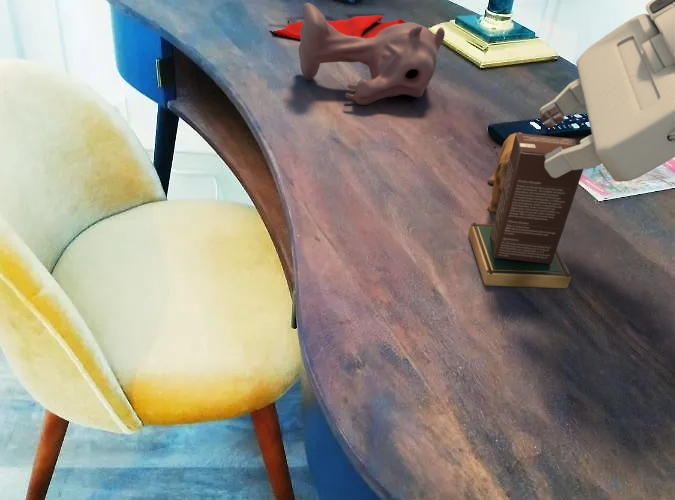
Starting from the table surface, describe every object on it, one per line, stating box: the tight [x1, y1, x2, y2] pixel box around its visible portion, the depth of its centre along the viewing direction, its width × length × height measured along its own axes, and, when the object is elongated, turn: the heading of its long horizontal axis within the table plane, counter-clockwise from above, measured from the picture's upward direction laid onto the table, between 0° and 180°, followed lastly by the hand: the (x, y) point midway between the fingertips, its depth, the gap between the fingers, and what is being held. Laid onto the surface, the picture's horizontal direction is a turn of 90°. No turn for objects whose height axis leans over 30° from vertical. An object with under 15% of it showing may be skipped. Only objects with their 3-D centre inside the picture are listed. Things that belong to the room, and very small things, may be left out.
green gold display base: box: [468, 222, 572, 289], centre depth 67 cm, size 8×8×2 cm
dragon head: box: [298, 2, 446, 106], centre depth 94 cm, size 14×13×20 cm
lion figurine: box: [487, 132, 523, 213], centre depth 74 cm, size 15×5×9 cm, turn 175°
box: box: [491, 132, 584, 264], centre depth 62 cm, size 6×4×12 cm
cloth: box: [273, 14, 407, 40], centre depth 115 cm, size 26×14×2 cm, turn 100°
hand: (544, 142), depth 59 cm, fingers open, 8 cm apart
